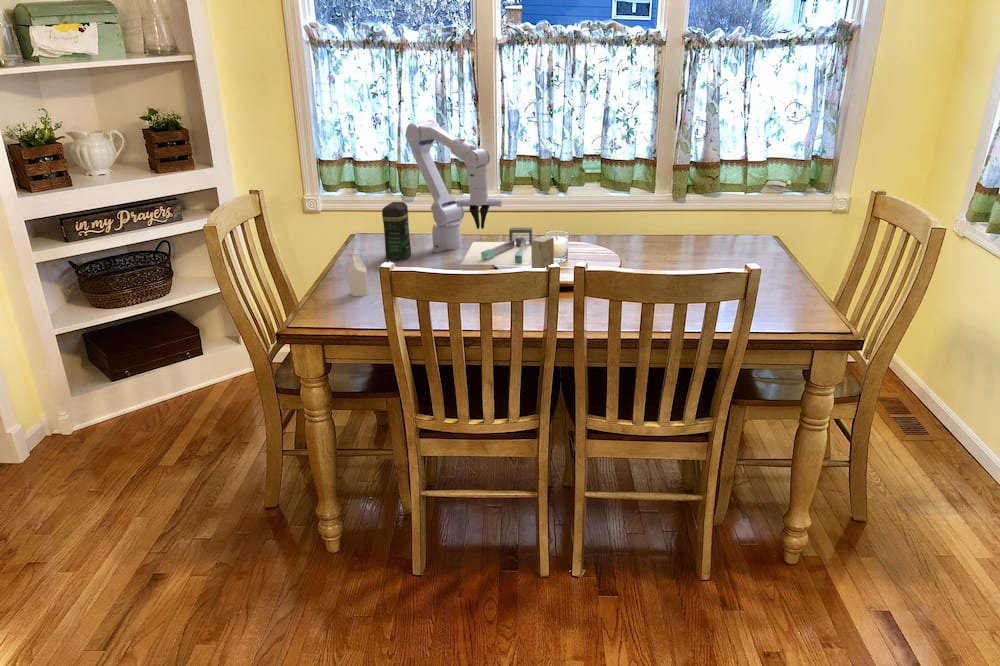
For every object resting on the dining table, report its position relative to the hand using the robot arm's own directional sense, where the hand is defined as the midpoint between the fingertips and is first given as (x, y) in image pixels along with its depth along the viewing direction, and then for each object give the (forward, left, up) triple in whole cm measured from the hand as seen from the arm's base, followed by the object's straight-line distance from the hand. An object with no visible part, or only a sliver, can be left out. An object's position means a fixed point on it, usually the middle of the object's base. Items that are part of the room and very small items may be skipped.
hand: (480, 227), depth 259 cm
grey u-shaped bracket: (+12, +11, -9) cm, 19 cm away
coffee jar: (-28, -1, -10) cm, 30 cm away
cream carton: (-32, -35, -10) cm, 49 cm away
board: (+6, 0, -10) cm, 12 cm away
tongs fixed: (+13, 0, -9) cm, 15 cm away
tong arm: (+6, 0, -8) cm, 10 cm away
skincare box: (+22, -20, -10) cm, 31 cm away
